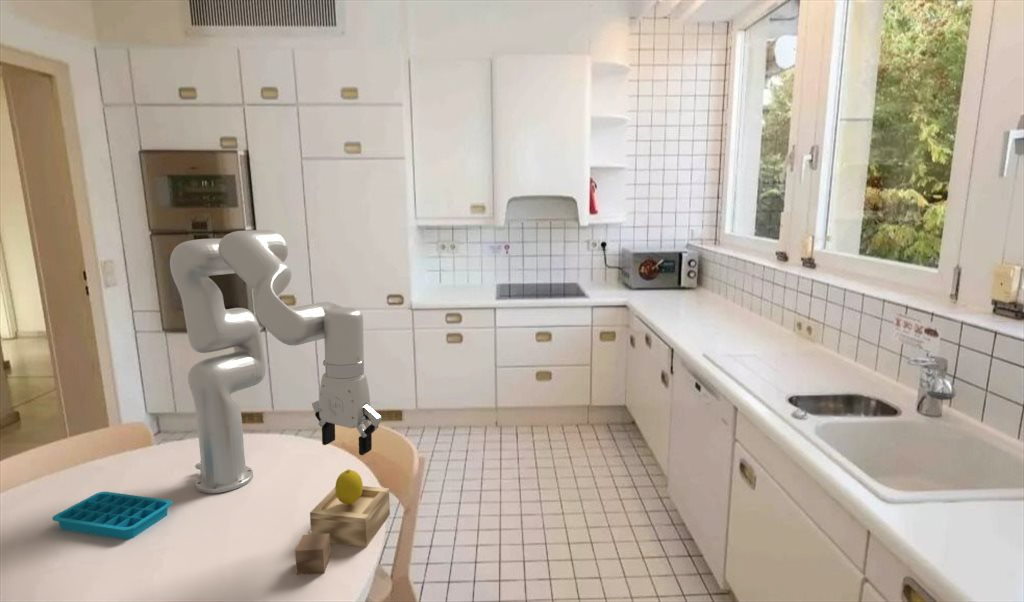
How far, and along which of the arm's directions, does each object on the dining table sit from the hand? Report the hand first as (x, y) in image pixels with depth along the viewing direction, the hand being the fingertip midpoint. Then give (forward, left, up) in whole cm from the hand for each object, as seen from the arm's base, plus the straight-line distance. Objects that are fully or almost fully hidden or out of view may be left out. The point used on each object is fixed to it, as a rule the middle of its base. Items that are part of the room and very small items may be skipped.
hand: (346, 447), depth 112 cm
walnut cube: (+3, -13, -18) cm, 22 cm away
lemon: (0, 0, -13) cm, 13 cm away
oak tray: (+1, 0, -18) cm, 18 cm away
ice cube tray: (-47, -20, -19) cm, 55 cm away
